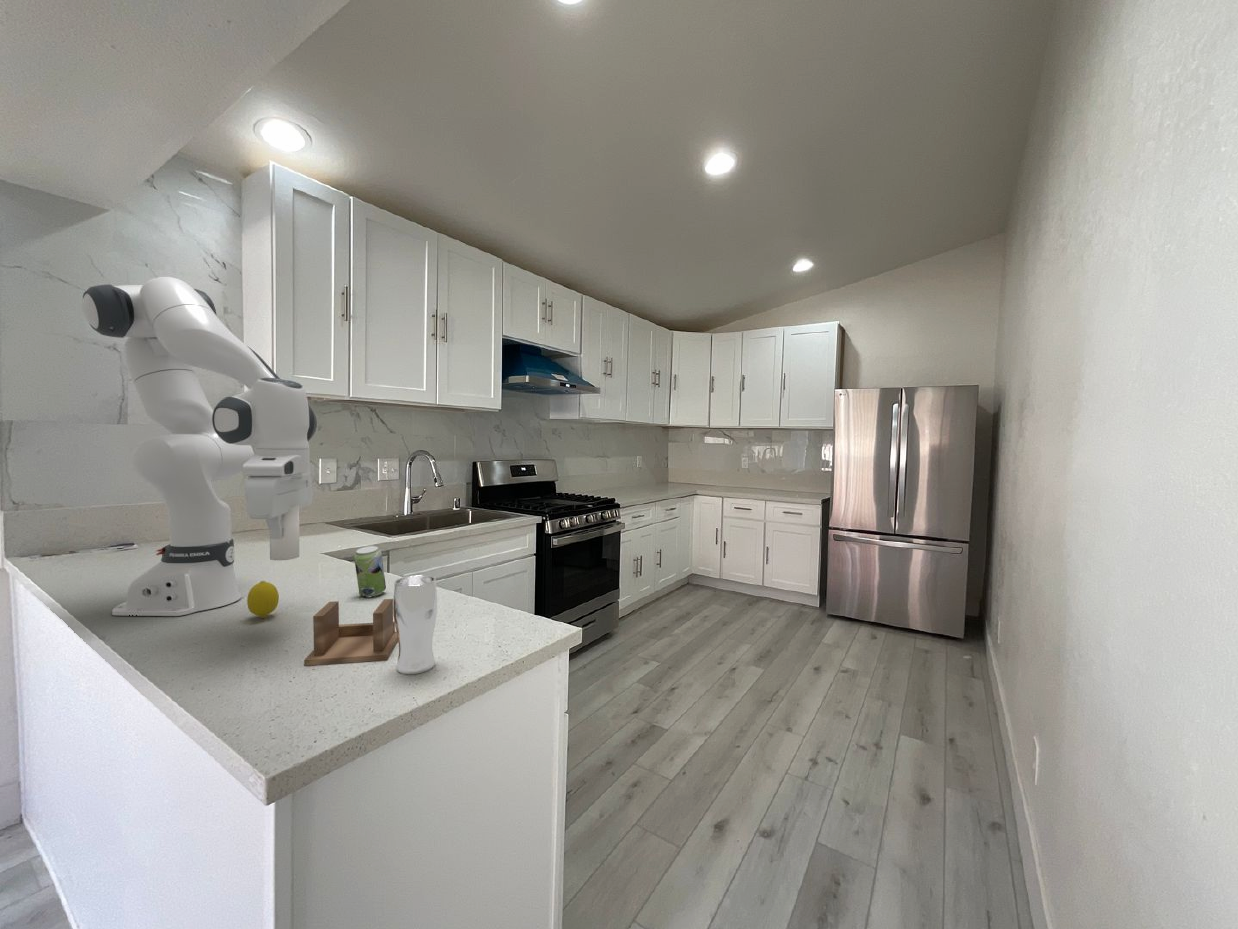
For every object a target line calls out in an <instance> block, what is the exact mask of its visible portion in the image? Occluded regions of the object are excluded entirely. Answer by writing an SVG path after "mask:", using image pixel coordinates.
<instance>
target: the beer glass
mask: <svg viewBox="0 0 1238 929" xmlns="http://www.w3.org/2000/svg"><path fill="white" fill-rule="evenodd" d="M393 584H394V588H393V598H392V599H393V622H395V632H397V636H398V642H397V643H398V657H397V663H396V671H397V672H398V673H400V674H402V675H418V674H422V673H425V672H428V671H430V670H431V669H433V668H434V667H435V665H436V660H435V655H434V650H433V637H434V632H435V627H436V621H437V614H438V613H437V612H438V593H437V592H438V591H437V578H436V577H435V576H433V575H429V574H427V575H426V574H419V575H418V574H417V575H408V576H404V577H400V578H397V579H396V580H394V583H393Z"/></svg>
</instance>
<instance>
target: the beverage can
mask: <svg viewBox="0 0 1238 929" xmlns="http://www.w3.org/2000/svg"><path fill="white" fill-rule="evenodd" d="M353 558H354V566H355V573H356V580H357V587H358V594H359V595H360V596H361V597H362V596H363V597H364V596H374V597H376V596H375V595H377V596H380V595H381V594H383V592H385V590H386V589H387V585H386V578H385V577H386V576H385V570H384V562H383V554H382V550H381V549H379V546H376V545H367V546H363V547H362V546H361V547H360V548H358V549H356V551H355V554H354V557H353Z"/></svg>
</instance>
